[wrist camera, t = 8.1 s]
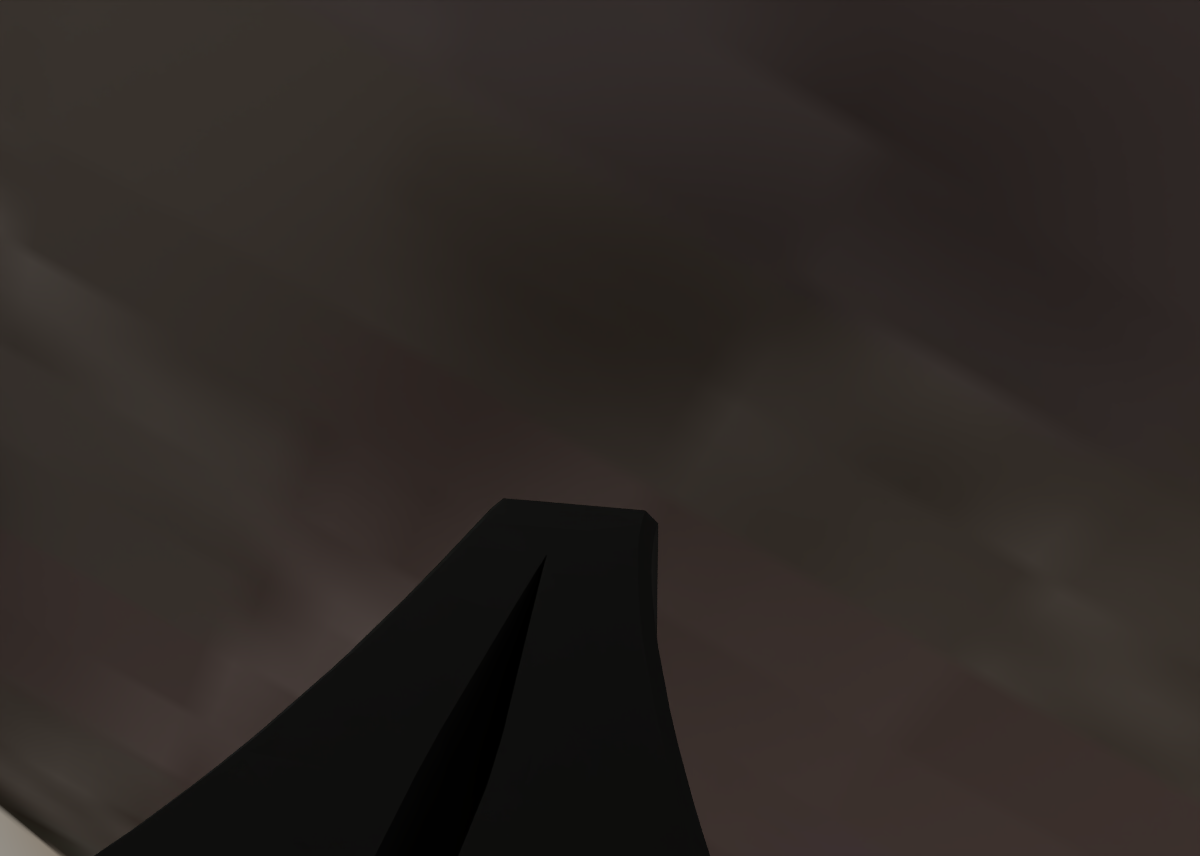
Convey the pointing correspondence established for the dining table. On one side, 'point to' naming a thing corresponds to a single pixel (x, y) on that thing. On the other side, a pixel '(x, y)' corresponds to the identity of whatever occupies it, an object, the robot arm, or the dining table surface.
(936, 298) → the dining table surface
